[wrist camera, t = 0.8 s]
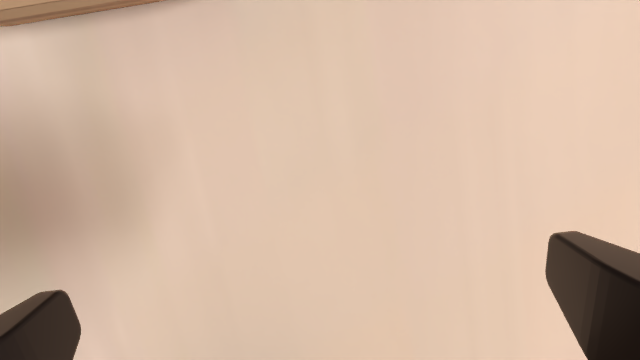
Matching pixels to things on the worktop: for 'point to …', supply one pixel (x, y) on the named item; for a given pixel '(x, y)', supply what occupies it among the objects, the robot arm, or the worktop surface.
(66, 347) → the robot arm
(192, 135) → the worktop surface
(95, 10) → the square wooden tray
